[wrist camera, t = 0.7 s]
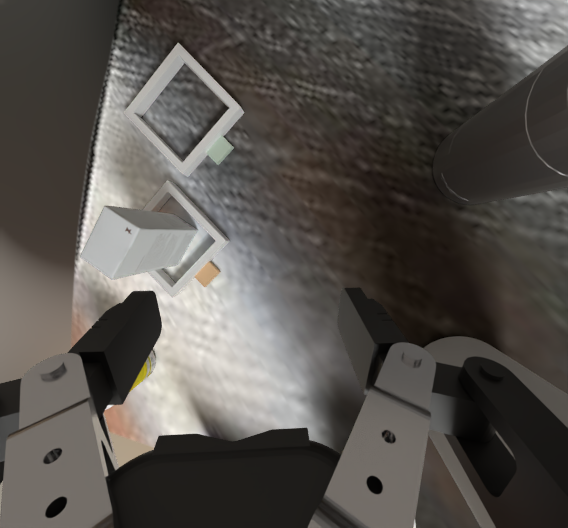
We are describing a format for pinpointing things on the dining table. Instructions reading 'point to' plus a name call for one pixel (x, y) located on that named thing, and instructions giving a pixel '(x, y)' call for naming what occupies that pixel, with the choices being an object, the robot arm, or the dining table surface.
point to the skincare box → (136, 241)
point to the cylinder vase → (548, 394)
